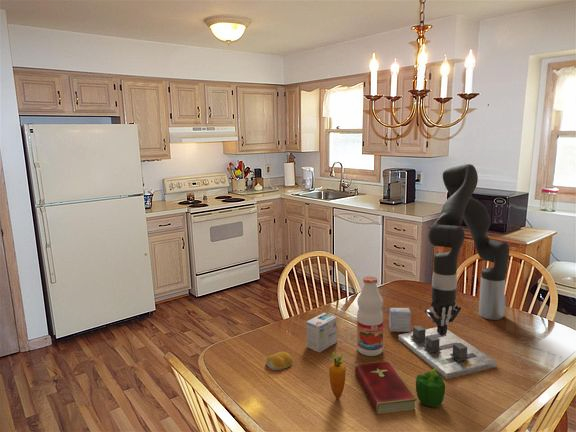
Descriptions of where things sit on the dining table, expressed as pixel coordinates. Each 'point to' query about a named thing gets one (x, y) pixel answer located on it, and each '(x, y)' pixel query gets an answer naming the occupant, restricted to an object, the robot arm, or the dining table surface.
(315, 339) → the light bulb box
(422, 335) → the lever right
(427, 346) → the lever middle
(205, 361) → the dining table surface
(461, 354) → the lever
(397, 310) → the medicine box
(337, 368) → the carrot
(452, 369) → the switch panel
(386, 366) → the hardcover book
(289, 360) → the bread roll
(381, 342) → the fruit juice
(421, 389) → the bell pepper
